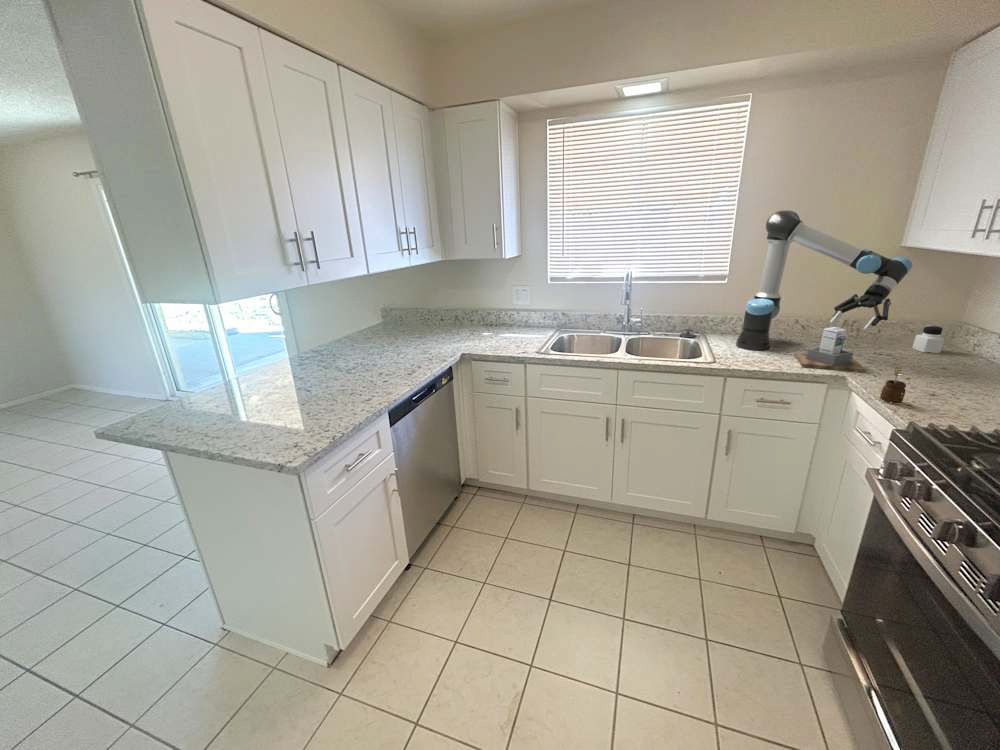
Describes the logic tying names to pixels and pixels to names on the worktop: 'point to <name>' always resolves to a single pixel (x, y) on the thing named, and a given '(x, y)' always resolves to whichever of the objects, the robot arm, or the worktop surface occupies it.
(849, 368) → the walnut board
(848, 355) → the holder
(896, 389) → the brown potted plant
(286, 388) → the worktop surface
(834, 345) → the syrup box
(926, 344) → the medicine bottle
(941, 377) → the worktop surface
